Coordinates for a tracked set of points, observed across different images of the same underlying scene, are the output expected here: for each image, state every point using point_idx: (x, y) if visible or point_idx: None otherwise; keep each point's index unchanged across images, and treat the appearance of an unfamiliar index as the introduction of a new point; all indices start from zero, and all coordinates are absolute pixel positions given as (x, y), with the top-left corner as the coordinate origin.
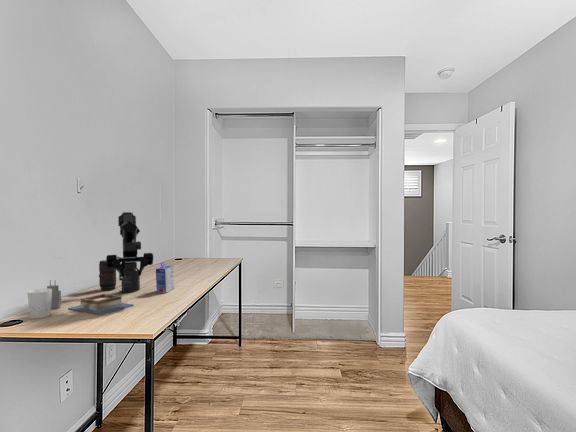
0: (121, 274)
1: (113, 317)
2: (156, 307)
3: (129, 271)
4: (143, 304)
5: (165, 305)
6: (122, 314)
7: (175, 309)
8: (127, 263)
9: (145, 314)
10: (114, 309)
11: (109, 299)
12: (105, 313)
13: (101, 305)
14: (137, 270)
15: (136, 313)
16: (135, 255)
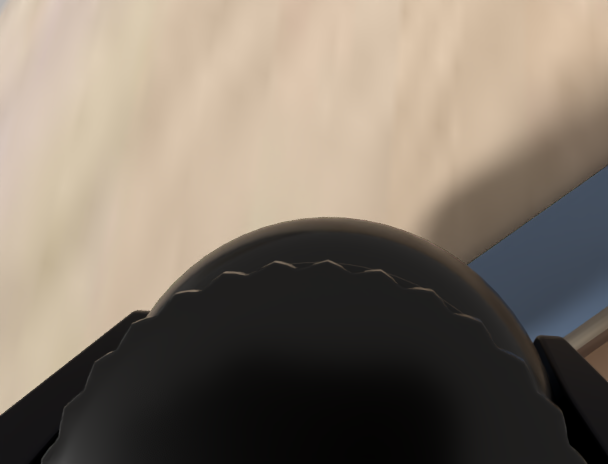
0: (566, 350)
1: (515, 24)
2: (153, 191)
3: (379, 230)
4: None
5: (71, 226)
6: (442, 86)
7: (38, 53)
8: (470, 380)
9: (271, 5)
10: (511, 248)
11: (596, 346)
12: (586, 180)
13: None
14: (163, 299)
15: (332, 67)
16: None
